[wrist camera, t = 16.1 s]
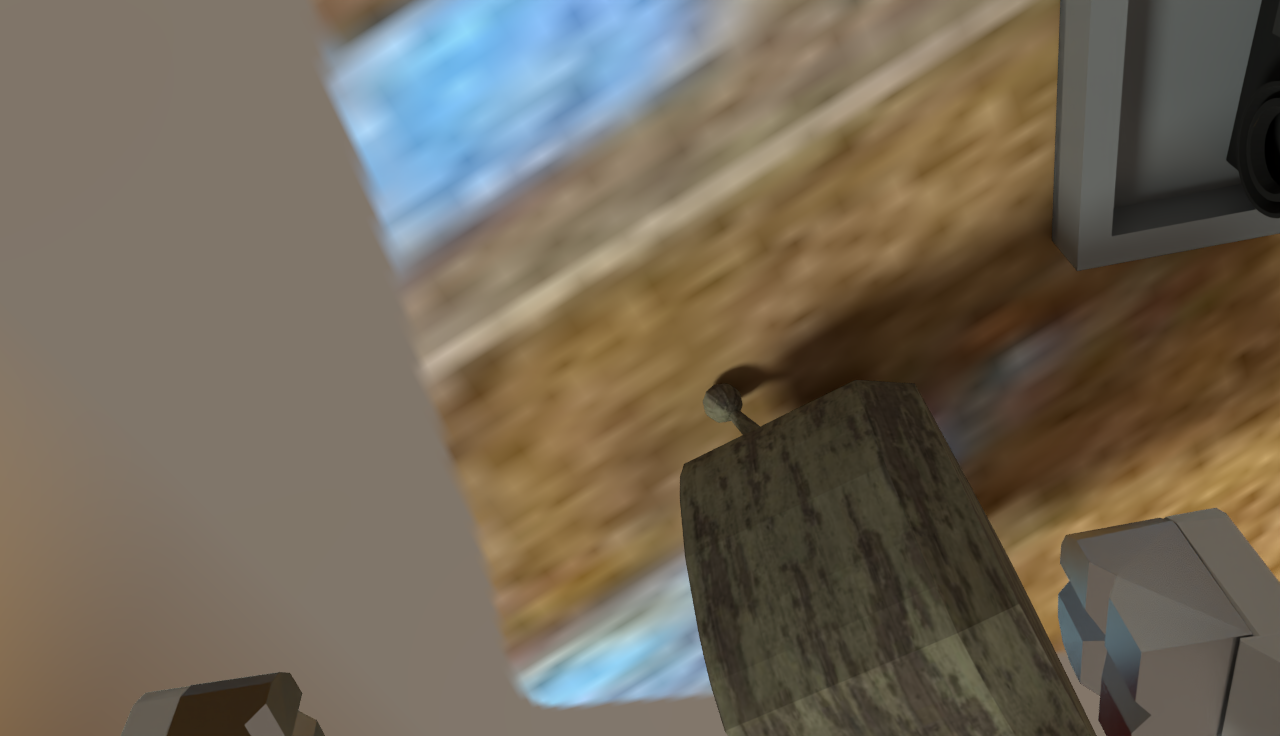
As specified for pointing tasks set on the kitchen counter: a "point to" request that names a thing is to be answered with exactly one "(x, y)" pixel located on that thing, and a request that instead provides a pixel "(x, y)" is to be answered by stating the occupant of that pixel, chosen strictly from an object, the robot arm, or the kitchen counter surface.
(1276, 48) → the digital camera
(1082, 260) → the tray
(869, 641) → the tabletop clock
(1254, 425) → the kitchen counter surface
